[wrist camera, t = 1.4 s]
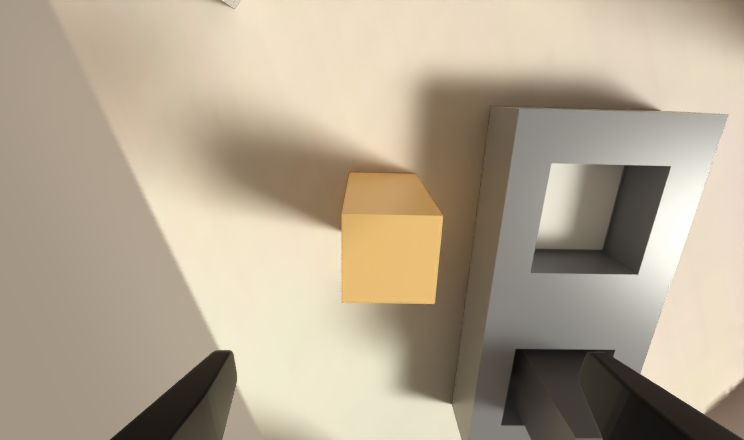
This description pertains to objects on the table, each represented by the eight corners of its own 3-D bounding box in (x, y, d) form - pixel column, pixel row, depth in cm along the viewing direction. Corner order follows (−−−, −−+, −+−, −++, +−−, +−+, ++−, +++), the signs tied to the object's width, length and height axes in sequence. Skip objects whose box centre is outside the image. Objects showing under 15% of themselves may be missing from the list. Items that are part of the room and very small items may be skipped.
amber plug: (411, 235, 23) (434, 304, 15) (349, 234, 23) (341, 302, 15) (415, 173, 22) (443, 215, 14) (349, 172, 22) (341, 213, 14)
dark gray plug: (556, 378, 26) (636, 496, 18) (501, 378, 26) (558, 497, 18) (568, 332, 24) (659, 438, 17) (510, 331, 24) (576, 438, 17)
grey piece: (579, 405, 28) (612, 453, 24) (452, 404, 28) (465, 453, 24) (661, 111, 21) (728, 114, 17) (490, 106, 20) (519, 108, 17)
